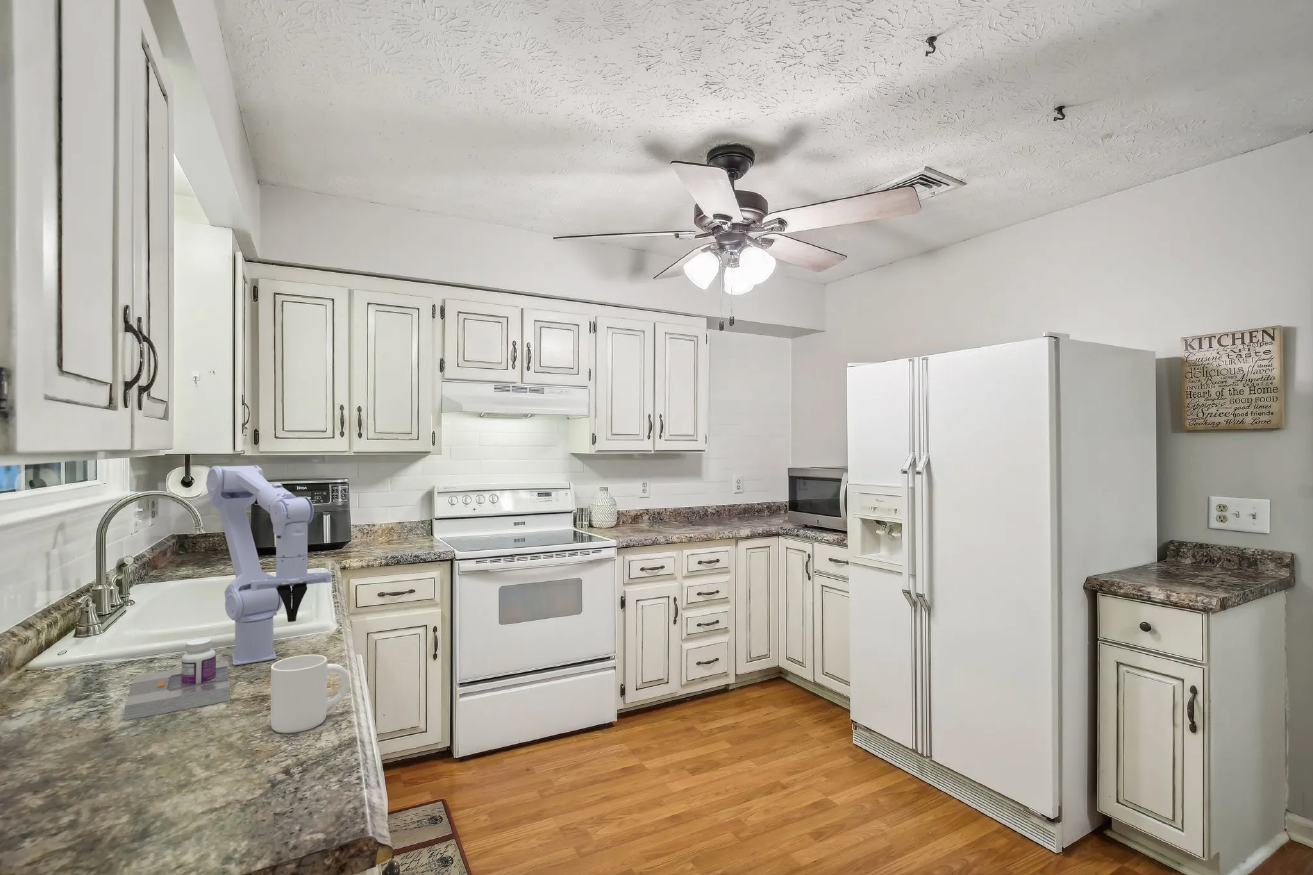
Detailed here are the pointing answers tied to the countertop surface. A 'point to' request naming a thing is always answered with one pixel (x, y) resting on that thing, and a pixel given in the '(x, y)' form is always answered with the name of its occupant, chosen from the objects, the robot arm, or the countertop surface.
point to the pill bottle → (198, 662)
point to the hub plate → (174, 692)
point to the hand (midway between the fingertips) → (291, 620)
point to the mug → (303, 692)
